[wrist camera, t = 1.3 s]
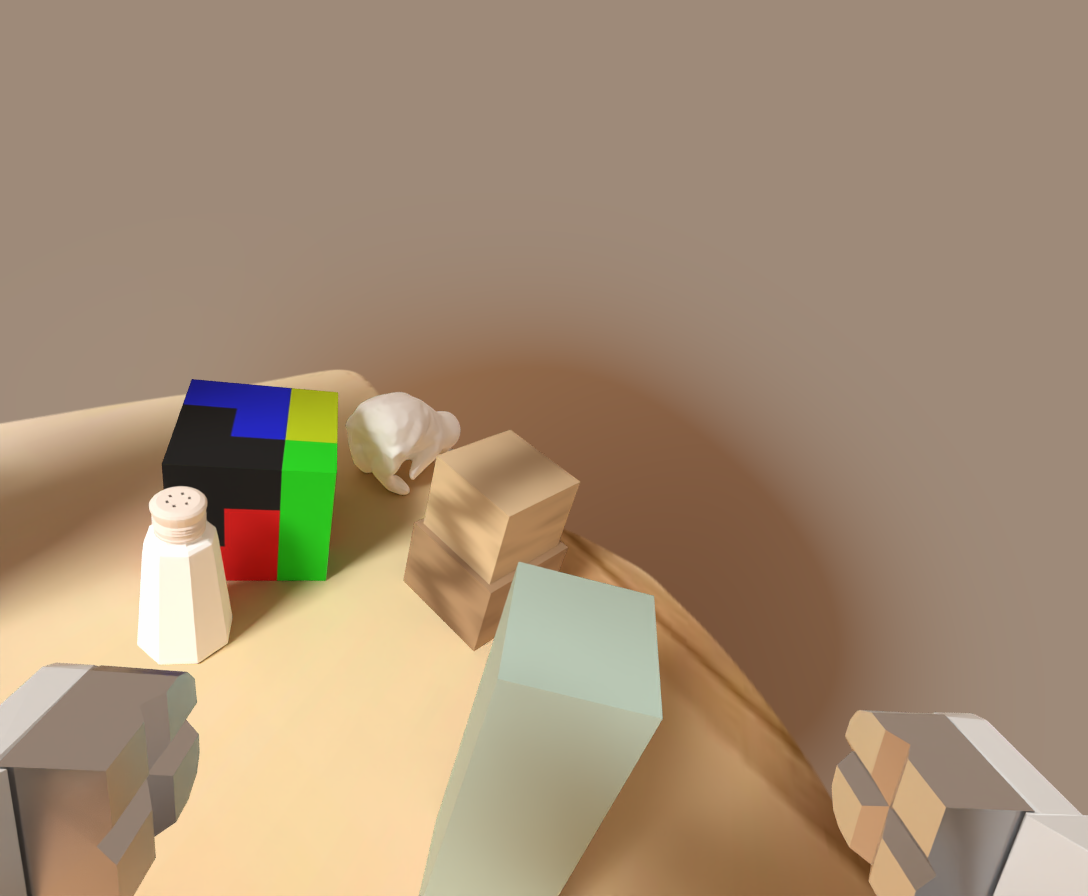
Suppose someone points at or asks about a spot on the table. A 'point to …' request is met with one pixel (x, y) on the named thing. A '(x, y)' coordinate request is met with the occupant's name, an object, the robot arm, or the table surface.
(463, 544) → the tower top
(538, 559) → the tower bottom
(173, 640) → the pepper shaker
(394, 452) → the white animal figurine
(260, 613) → the table surface
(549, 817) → the pillar
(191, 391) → the puzzle toy
